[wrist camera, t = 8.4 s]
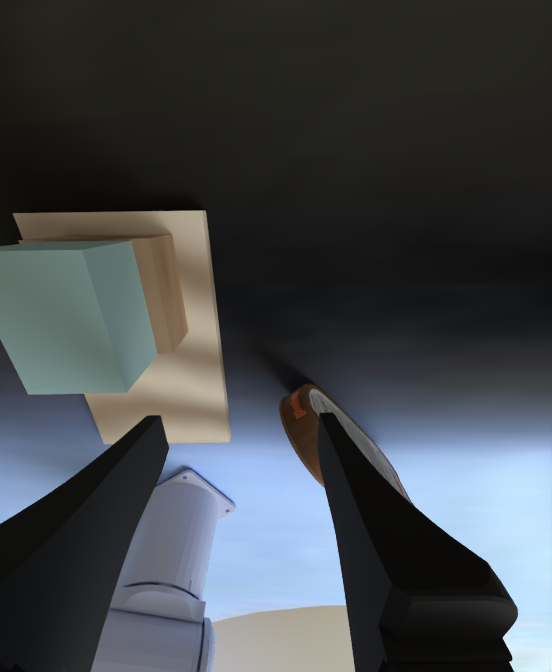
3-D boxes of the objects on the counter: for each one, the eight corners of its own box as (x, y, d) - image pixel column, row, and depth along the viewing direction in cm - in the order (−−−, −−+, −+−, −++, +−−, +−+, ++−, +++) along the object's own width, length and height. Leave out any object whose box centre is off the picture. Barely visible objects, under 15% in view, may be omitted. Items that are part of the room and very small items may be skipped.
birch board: (231, 434, 26) (229, 442, 25) (110, 436, 26) (104, 444, 25) (205, 210, 18) (202, 210, 17) (26, 213, 18) (12, 213, 17)
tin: (275, 381, 23) (276, 461, 16) (303, 360, 23) (318, 435, 15) (368, 467, 28) (403, 561, 21) (394, 453, 27) (440, 546, 20)
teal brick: (80, 356, 17) (28, 394, 13) (38, 242, 14) (-44, 251, 10) (157, 354, 17) (126, 392, 13) (131, 240, 14) (82, 249, 10)
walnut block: (97, 332, 20) (64, 354, 17) (65, 235, 17) (18, 240, 14) (188, 331, 20) (172, 353, 17) (172, 233, 17) (149, 238, 14)
